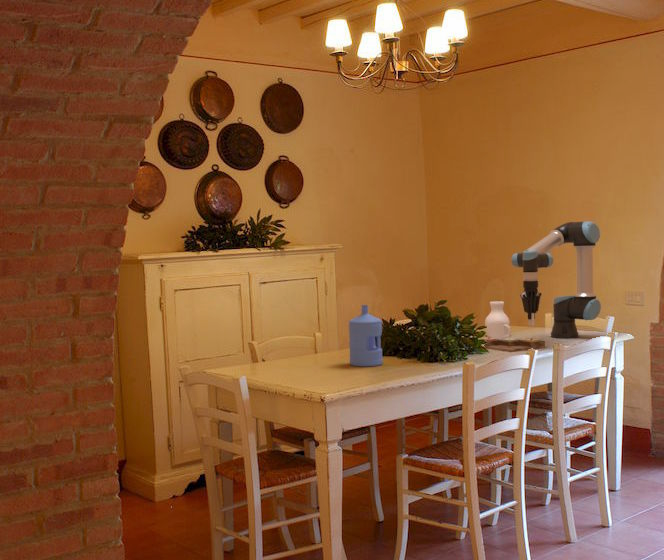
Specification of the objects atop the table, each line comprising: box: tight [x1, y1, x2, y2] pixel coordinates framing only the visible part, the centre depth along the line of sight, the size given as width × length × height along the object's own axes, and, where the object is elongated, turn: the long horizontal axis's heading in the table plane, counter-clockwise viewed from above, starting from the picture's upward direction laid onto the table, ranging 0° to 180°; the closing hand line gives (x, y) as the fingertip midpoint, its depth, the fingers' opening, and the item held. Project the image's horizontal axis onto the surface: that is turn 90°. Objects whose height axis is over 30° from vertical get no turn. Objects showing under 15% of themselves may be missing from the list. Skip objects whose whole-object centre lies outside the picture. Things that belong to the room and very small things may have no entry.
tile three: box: [522, 338, 541, 342], centre depth 441 cm, size 6×6×3 cm
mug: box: [490, 321, 512, 340], centre depth 472 cm, size 12×8×10 cm
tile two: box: [481, 337, 497, 341], centre depth 449 cm, size 6×6×3 cm
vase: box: [484, 300, 511, 338], centre depth 490 cm, size 14×14×20 cm
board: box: [484, 339, 546, 353], centre depth 445 cm, size 24×27×4 cm
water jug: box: [348, 304, 384, 368], centre depth 400 cm, size 16×16×28 cm
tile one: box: [502, 337, 519, 342], centre depth 445 cm, size 6×6×3 cm
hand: (531, 325), depth 441 cm, fingers closed
